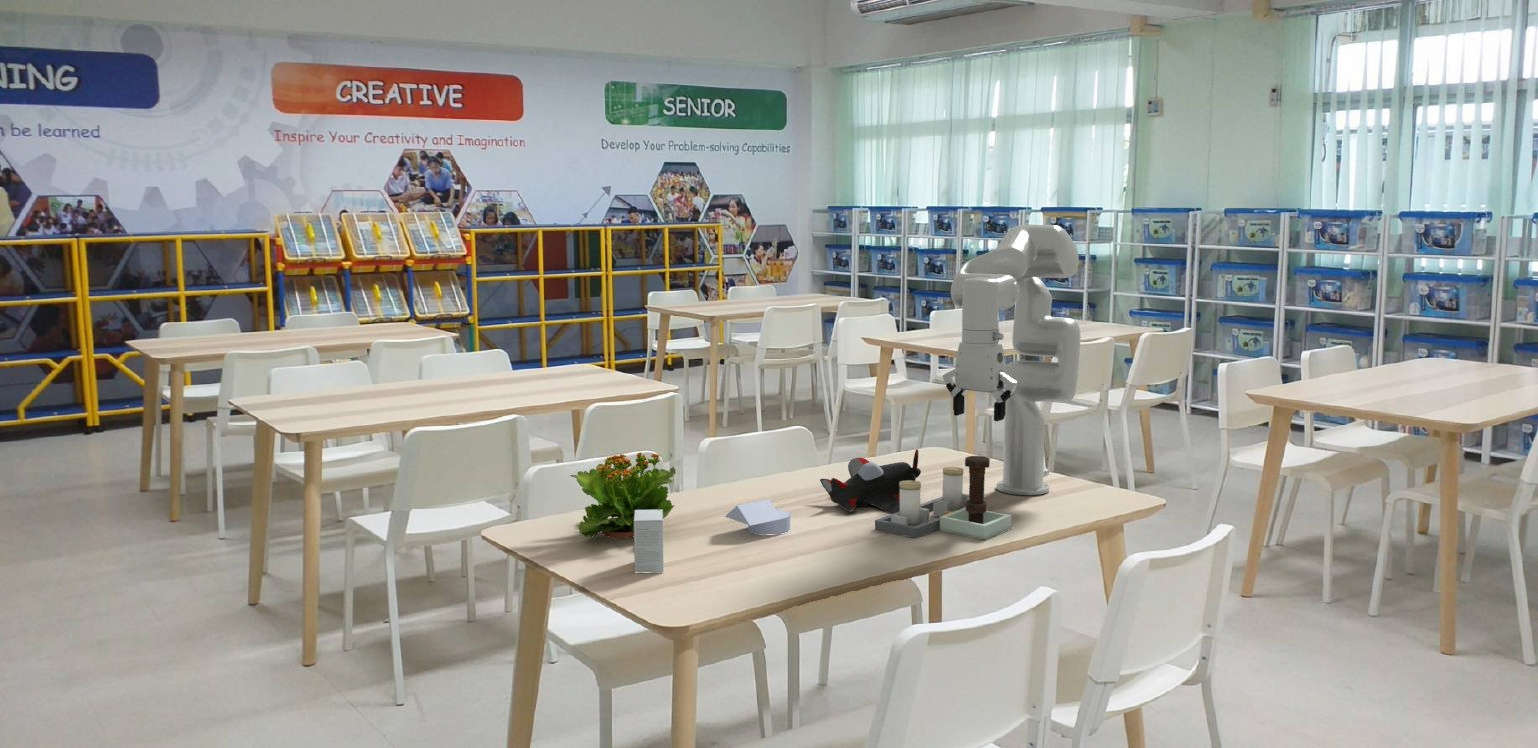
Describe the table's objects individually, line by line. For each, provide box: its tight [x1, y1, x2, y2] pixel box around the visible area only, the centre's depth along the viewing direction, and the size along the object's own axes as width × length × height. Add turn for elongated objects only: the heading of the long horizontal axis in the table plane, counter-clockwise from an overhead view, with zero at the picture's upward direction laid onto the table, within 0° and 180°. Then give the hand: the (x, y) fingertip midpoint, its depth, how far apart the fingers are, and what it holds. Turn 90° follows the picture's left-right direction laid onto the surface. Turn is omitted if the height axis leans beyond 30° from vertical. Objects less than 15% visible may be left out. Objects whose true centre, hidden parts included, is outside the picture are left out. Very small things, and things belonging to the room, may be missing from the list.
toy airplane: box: [819, 448, 922, 515], centre depth 274 cm, size 28×24×15 cm
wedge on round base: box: [724, 498, 791, 535], centre depth 251 cm, size 9×7×13 cm
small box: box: [633, 510, 664, 573], centre depth 226 cm, size 8×6×10 cm
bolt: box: [964, 455, 991, 524], centre depth 250 cm, size 6×5×15 cm
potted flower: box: [569, 451, 677, 539], centre depth 250 cm, size 25×24×18 cm
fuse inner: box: [941, 466, 964, 512], centre depth 265 cm, size 5×5×10 cm
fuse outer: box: [899, 480, 922, 527], centre depth 252 cm, size 5×5×10 cm
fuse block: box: [874, 493, 970, 539], centre depth 259 cm, size 11×28×4 cm, turn 139°
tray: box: [939, 507, 1012, 541], centre depth 251 cm, size 11×11×3 cm
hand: (978, 417), depth 248 cm, fingers open, 9 cm apart
